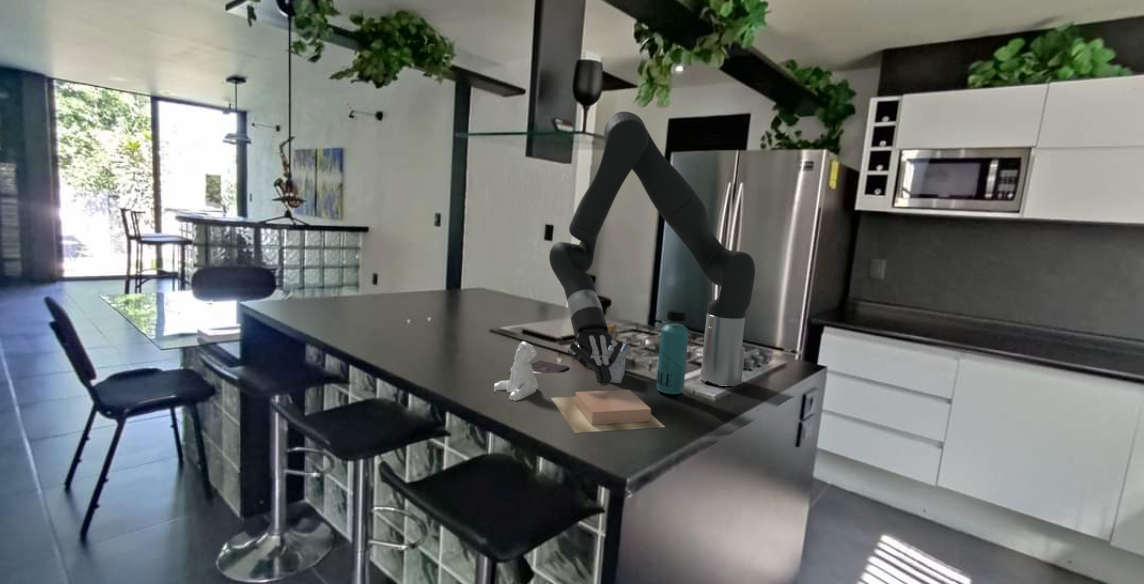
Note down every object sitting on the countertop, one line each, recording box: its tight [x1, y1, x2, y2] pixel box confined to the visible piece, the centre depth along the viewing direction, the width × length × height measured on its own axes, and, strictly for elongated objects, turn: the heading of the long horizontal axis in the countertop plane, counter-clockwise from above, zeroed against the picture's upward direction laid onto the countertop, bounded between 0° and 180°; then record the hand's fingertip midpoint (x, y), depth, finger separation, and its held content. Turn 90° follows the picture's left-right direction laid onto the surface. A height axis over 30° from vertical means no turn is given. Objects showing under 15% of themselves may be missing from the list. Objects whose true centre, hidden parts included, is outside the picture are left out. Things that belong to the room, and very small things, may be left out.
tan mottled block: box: [606, 322, 617, 342], centre depth 149 cm, size 10×4×10 cm, turn 162°
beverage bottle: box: [655, 309, 690, 395], centre depth 120 cm, size 6×7×20 cm
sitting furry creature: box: [493, 340, 539, 402], centre depth 115 cm, size 10×9×12 cm
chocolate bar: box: [508, 360, 570, 375], centre depth 132 cm, size 9×1×18 cm
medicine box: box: [607, 343, 627, 384], centre depth 129 cm, size 8×4×9 cm, turn 168°
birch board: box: [550, 396, 666, 434], centre depth 107 cm, size 18×18×1 cm
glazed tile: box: [574, 389, 652, 425], centre depth 106 cm, size 12×3×11 cm
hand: (605, 384), depth 110 cm, fingers closed
